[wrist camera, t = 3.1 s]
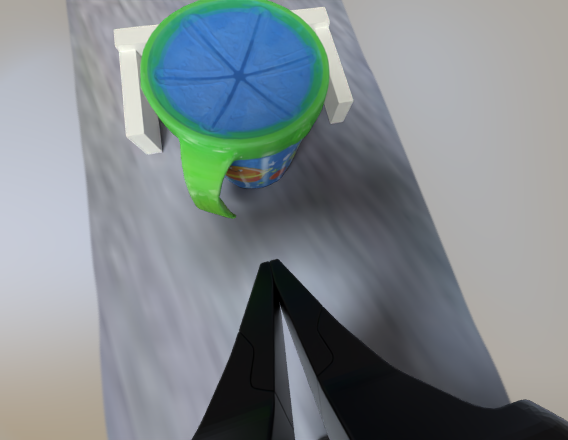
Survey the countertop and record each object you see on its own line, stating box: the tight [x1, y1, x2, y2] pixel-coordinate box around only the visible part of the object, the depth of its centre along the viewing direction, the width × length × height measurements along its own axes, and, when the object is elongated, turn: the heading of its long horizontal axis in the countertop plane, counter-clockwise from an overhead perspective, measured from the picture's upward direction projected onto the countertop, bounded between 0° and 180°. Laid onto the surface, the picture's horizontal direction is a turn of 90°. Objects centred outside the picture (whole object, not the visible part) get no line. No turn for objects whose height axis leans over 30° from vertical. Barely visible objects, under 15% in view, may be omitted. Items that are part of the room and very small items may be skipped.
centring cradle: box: [114, 7, 354, 155], centre depth 19 cm, size 12×21×7 cm, turn 103°
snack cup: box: [140, 0, 330, 219], centre depth 16 cm, size 16×10×10 cm
